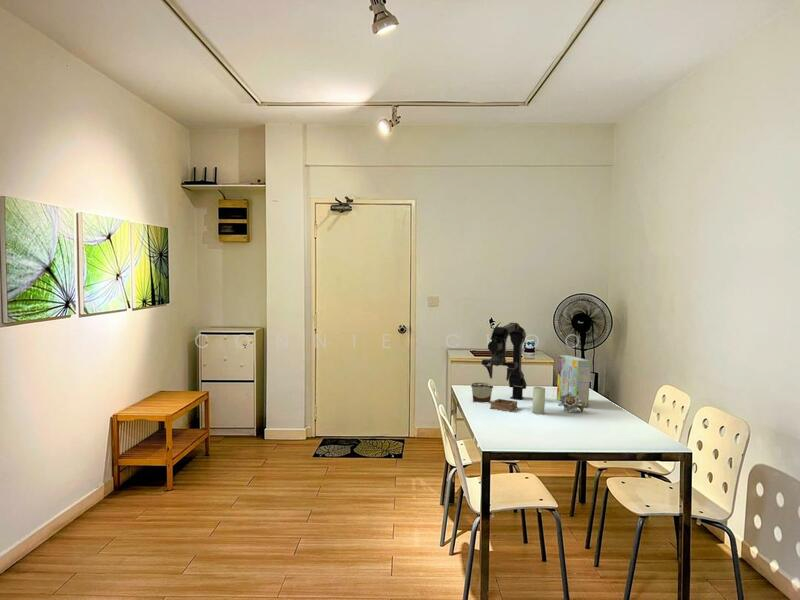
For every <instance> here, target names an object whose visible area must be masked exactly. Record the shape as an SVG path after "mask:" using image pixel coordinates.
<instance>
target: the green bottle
mask: <svg viewBox="0 0 800 600" xmlns="http://www.w3.org/2000/svg"><path fill="white" fill-rule="evenodd" d="M545 399H546V387H541V386H534V387H533V390H532V407H531V408H532V411H531V413H532V414H533V413H534V415H539V414H542V415H545V404H546V402H545V401H546V400H545Z"/></svg>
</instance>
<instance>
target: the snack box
mask: <svg viewBox="0 0 800 600" xmlns="http://www.w3.org/2000/svg"><path fill="white" fill-rule="evenodd" d="M591 365H592V360H591V359H590V360H589V359H585V358H581V357H578V356H574V355H573V356H572V355H558V368H557V386H556V387H557V388H556V400H558V401H561V400H560V399H561V397H562V395H564V396H565V395H567V394H569V392H571V393H572V396H573V395H574V396H579V397H578V398H577V399H578V400H581V403H582V405H583V406H582V407H583V408H587V407H589V399H590V398H589V397H590V385H591V384H590V383H591V382H590V380H591V367H592V366H591ZM574 396H573V397H574ZM561 402H562V401H561ZM577 408H579V407H578V406H577Z"/></svg>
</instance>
